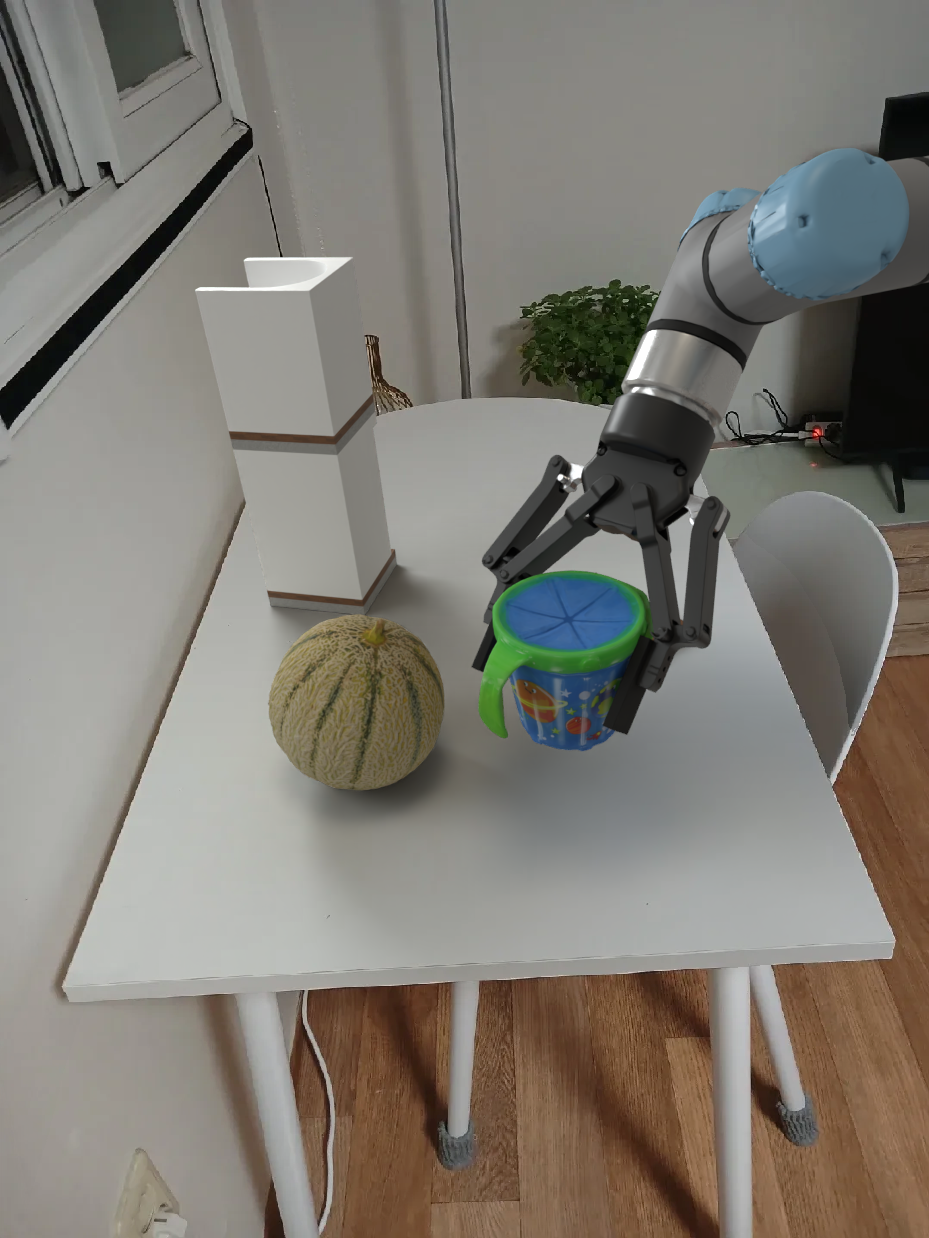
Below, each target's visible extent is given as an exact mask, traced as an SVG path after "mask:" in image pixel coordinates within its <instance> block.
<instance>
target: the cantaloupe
mask: <svg viewBox="0 0 929 1238" xmlns="http://www.w3.org/2000/svg"><path fill="white" fill-rule="evenodd" d="M444 687H445V686H444V681H443V679H442V676H441V672H440V669H439V667H438V664H437V662H436V660H435V659H434V657H433V656H432V654H431V652H430V650H429V649H428V648H427V646H426V645H425V643H423V641H422V640H421V639H420V638H419V636H417V635H415V634H414V633H412V632H411V631H409V630H407V629H406V628H405V627H404V626H402V624H401V625H400V624H399V623H398V622H395V621H393V620H390V619H387V618H383V617H377V616H369V615H366V614H365V615H361V614H346V615H341V616H337V617H334V618H329V619H326V620H324V621H323V620H322V621H321V622H318V623H317V624H315V625H314V626H312V627H311V628H309V629H308V630H307V631H305V632H304V633H303V634H301V635H300V636H299V637H298V638H297V639H296V640H295V641H294V642H293V643H292V644H291V645H290V647H289V648H288V650H287V651H286V652H285V654H284V656H283V657H282V659H281V661H280V665H279V667H278V669H277V671H276V673H275V675H274V677H273V680H272V682H271V685H270V689H269V694H268V703H267V704H268V719H269V721H270V722H269V723H270V726H271V729H272V731H271V732H272V735H273V737H274V738H275V741H276V744H277V745H278V747H279V748H280V750H281V751H282V752H284V754H285V755H286V756H287V758H288V760H289V761H290V763H291V764H292V765H293V767H295V768H296V769H297V770H298V771H300V772H301V773H302V774H303V775H305V776H306V777H308V779H309V778H310V779H312V780H314V781H317V782H320V783H321V784H324V785H325V786H327V787H331V788H334V789H337V790H352V791H369V790H375V789H381V788H384V787H387V786H390V785H392V784H396V783H397V782H398V781H400V780H403V779H404V778H405V777H407V776H408V775H410V773H412V772H414V771H415V770H416V769H417V768H418V767H419V766H420V765H422V763H423V762H424V761H425V760H426V759H427V757H428V756H429V755H430V753H431V752H432V750H433V749H434V748H435V745H436V742H437V740H438V737H439V734H440V732H441V726H442V722H443V718H444V715H445V714H444V713H445V707H446V705H445V704H446V702H445V701H446V699H445V688H444Z"/></svg>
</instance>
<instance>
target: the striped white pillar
mask: <svg viewBox="0 0 929 1238" xmlns="http://www.w3.org/2000/svg"><path fill="white" fill-rule="evenodd" d="M243 265H244V271H245V274H246V275H245V276H246V280H247V283H248V287H216V286H215V287H207V286H206V287H203V286H202V287H198V288H196V289H195V290H194V292H195V296H196V301H197V305H198V310H199V314H200V317H201V321H202V327H203V331H204V335H205V339H206V342H207V347H208V351H209V355H210V359H211V364H212V367H213V372H214V376H215V380H216V384H217V389H218V393H219V397H220V402H221V406H222V410H223V414H224V418H225V421H226V422H225V423H226V426H227V430H228V434H229V439H230V443H231V448H232V451H233V456H234V459H235V463H236V467H237V472H238V476H239V480H240V485H241V489H242V493H243V497H244V501H245V505H246V509H247V514H248V518H249V522H250V527H251V531H252V534H253V538H254V543H255V546H256V551H257V555H258V560H259V563H260V567H261V572H262V577H263V580H264V584H265V588H266V592H267V597H268V601H269V605H270V607H279V608H290V609H299V610H310V611H319V612H329V613H336V614H337V613H338V614H346V615H356V614H361V615H365V616H366V615H367V613H368V611H369V610H370V608H371V606H372V605H373V603H374V602H375V600H376V598H377V597H378V595H379V594H380V592H381V590H382V589H383V587H384V585H385V584H386V582H387V581H388V579H389V577H390V576H391V574H393V571H394V570H395V568H396V567H397V566H398V560H397V553H396V549H395V548H391V541H390V534H389V526H388V521H387V514H386V506H385V499H384V493H383V486H382V479H381V471H380V465H379V458H378V452H377V444H376V438H375V431H374V428H375V426H376V425H377V424H378V422H377V414H376V407H375V400H374V394H373V393H374V392H373V385H372V378H371V372H370V365H369V358H368V350H367V344H366V335H365V329H364V323H363V316H362V309H361V301H360V295H359V287H358V281H357V274H356V267H355V266H356V265H355V260H354V257H353V256H331V257H328V256H327V257H325V256H324V257H322V256H321V257H320V256H319V257H316V256H314V257H246V258H245V259H243Z"/></svg>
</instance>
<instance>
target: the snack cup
mask: <svg viewBox="0 0 929 1238" xmlns="http://www.w3.org/2000/svg"><path fill="white" fill-rule="evenodd" d="M492 613H493V628H494V634H495V637H496V640H497V643H496V645H495V646H494V648H493V650H492V652H491V654H490V656H489V659H488V661H487V663H486V666H485V669H484V672H482V676H481V677H482V678H481V681H480V689H479V696H478V703H477V704H478V705H477V707H478V708H477V709H478V710H477V711H478V715H479V717H480V720H481V721H482V723H483V724H484V725H485V727H487V729H488V730H490V732H491V733H493V734H495V735H496V736H497V737H499V738H502V739H508V737H509V733H508V730H507V729H508V728H507V727H506V721H505V720H506V719H505V708H504V707H505V706H504V696H503V695H504V693H503V689H504V687H505V686H506V683H507V682H508V681H509V682H510V686H511V687H510V688H511V690H512V696H513V699H514V703H515V707H516V710H517V713H518V716H519V720H520V723H521V725H522V728H523V729H524V730H525V732H527V734H528V735H529V736H530V738H531V740H532V741H533V742H534V743H536V744H539V745H544V746H547V747H550V748H554V749H556V750H563V751H580V752H587V751H589V750H591V749H593V747H595V746H597V745H601V744H603V743H605V742H607V741H608V740H609V739H610V738H611V737H612V736H613V735H614V734H615V732H616V731H614V730H611V729H609V728H607V727H605V726H602V725H603V723H604V721H605V718H606V716H607V713H608V711H609V709H610V706H611V704H612V701H613V699H614V697H615V694H616V692H617V690H618V687H619V685H620V682H621V680H622V678H623V675H624V673H625V670H626V668H627V666H628V663H629V661H630V659H631V656H632V654H633V651H634V649H635V647H636V645H637V642H638V639H639V637H640V635H642V636H645V637H648V638H650V639H653V637H652V635H651V633H650V632H651V631H652V632H653V625H652V618H651V611H650V604H649V597H648V594H647V593H645V592H644V590H641V589H640V588H638V587H635V586H634V585H632V584H629V583H628V582H625V581H622V580H620V579H617V578H615V577H612V576H609V575H606V574H602V573H599V572H594V571H586V570H575V569H574V570H573V569H571V570H569V569H568V570H556V571H555V570H554V571H550V572H544V573H543V574H539V575H535V576H532V577H529V578H526V579H524V580H522V581H520V582H518V583H516V584H514V585H512V586H511V587H509V588H508V589H507V590H506V591H505V592H504V593H503V594H502V595H501V596H500V597H499V599H498V600H497V602H496V603H495V604H494V606H493V610H492ZM653 633H654V632H653Z"/></svg>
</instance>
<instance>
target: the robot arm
mask: <svg viewBox="0 0 929 1238" xmlns="http://www.w3.org/2000/svg"><path fill="white" fill-rule="evenodd" d="M928 283H929V155H926V156H912V157H907V158H906V157H905V158H901V159H894V160H887V161H886V160H885V159H883V158H881V157H879V156H875V155H872V154H870V153H869V152H866V151H863V150H862V149H859V148H857V147H842V148H841V147H840V148H835V149H832V150H828V151H825V152H822V153H821V154H819V155H817V156H815V157H813V158H812V159H810V160H807V161H803V162H801V163H800V164H798V165H795V166H793V167H791V168H790V169H789V170H788V171H787V172H786V173H784V174H781V175H779V177H777V178H776V179H775V181H774V182H773V183H771V184H769V185H768V187H766V188H765V189H764V190H763V191H760V190H756V189H753V188H747V187H733V188H732V189H731V190H730V191H729V190H725V189H719V190H716V191H714V192H712V193H710V194H709V195H707V196H706V197H705V198H704V199H703V200H702V201H701V202H700V204H699V206H698V207H697V209H696V212H695V214H694V216H693V217H692V220H691V221H690V223H689V225H688V227H687V228H686V229H685V230H684V232H683V233H682V235H681V237H680V240H679V244H678V247H677V252H676V255H675V257H674V259H673V262H672V265H671V267H670V269H669V272H668V274H667V277H666V279H665V281H664V284H663V286H662V288H661V292H660V293H659V296H658V299H657V301H656V302H655V306H654V308H653V311H652V312H651V315H650V318H649V320H648V322H647V324H646V327H645V330H644V333H643V335H642V336H641V338H640V341H639V343H638V346H637V348H636V350H635V353H634V354H633V357H632V360H631V362H630V364H629V367H628V369H627V370H626V372H625V376H624V378H623V380H622V383H621V385H620V386H621V390H622V393H623V394H621V395H620V396H617V397H616V398H615V400H614V401H613V405H612V407H611V409H610V412H609V414H608V416H607V419H606V421H605V423H604V426H603V428H602V430H601V433H600V435H599V439H598V446H597V449H596V453H595V454H594V455H593V457H592V458H591V459H590V460H588V462H587V463H586V464H585V465H584V464H579V463H575V462H571V461H568V460H567V459H566V458H564V457H563V456H562V455H561V454H555V455H553V456H551V457H550V458H549V460H548V462H547V465H546V467H545V470H544V473H543V475H542V478H541V480H540V482H539V483H538V485H537V486H536V487H535V489H534V490H533V491H532V493H531V494H530V495H529V496H528V497H527V499H526V500H525V501H524V503H523V504H522V505H521V507H520V508H519V509H518V511H517V512H516V513H515V515H514V516H513V517H512V518H511V520H510V521H509V522H508V523H507V525H506V526H505V527H504V528H503V530H502V531H501V532H500V534H499V535H498V536H497V538H496V539H495V540H494V541H493V543H492V544H491V545H490V547H489V548H488V549H487V550H486V552H484V554H483V556H482V559H481V564H482V566H483V567H485V568H486V569H488V570H489V571H490V572H491V573H492V575H494V576H495V578H496V586H495V588H494V591H493V592H492V595H491V597H490V600H489V602H488V604H487V607H486V609H485V611H484V613H483V621H482V622H483V623H484V624H486V625H487V628H486V632H485V633H484V636H483V638H482V641H481V643H480V645H479V648H478V650H477V652H476V655H475V657H474V659H473V662H472V664H471V667H470V668H472V669H474V670H477V671H478V672H481V673H484V669H485V666H486V663H487V661H488V659H489V656H490V654H491V652H492V650H493V648H494V646H495V645H496V643H497V640H496V637H495V634H494V628H493V613H492V610H493V606H494V604H495V603H496V602H497V600H498V599H499V597H500V596H501V595H502V594H503V593H504V592H505V591H506V590H507V589H508V588H509V587H511V586H512V585H514V584H516V583H518V582H520V581H522V580H524V579H526V578H529V577H532V576H535V575H539V574H543V573H546V571H548V570H549V569H550V568H552V566H553V565H555V564H556V563H557V562H558V561H560V560H561V559H562V558H563V557H565V556H566V555H567V554H568V553H569V552H570V551H572V550H573V549H574V548H575V547H576V546H578V545H579V544H580V543H581V542H582V541H583V540H585V539H586V538H588V537H593V536H594V535H596V534H598V532H600V531H603V532H604V533H609V534H611V535H624V536H625V537H627V538H628V539H630V540H631V541H634V542H637V543H638V544H639V546H640V549H641V554H642V561H643V568H644V576H645V581H646V589H647V597H648V600H649V604H650V611H651V618H652V625H653V632H654V633H653V632H652V631H651V632H650V633H651V635H652V637H653V638H654V640H652V639H650V638H648V637H645V636H642V635H640V637H639V639H638V642H637V645H636V647H635V649H634V651H633V654H632V656H631V659H630V661H629V663H628V666H627V668H626V670H625V673H624V675H623V678H622V680H621V682H620V685H619V687H618V690H617V692H616V694H615V697H614V699H613V701H612V704H611V706H610V709H609V711H608V713H607V716H606V718H605V721H604V723H603V725H602V726H605V727H607V728H609V729H611V730H614V731H615V732H617V733H620V734H623V735H625V736H628V735H629V732H630V729H631V727H632V725H633V723H634V721H635V719H636V716H637V713H638V711H639V708H640V706H641V704H642V702H643V699H644V696H645V693H646V692H647V691H650V692H653V693H655V694H656V693H657V692H658V691H660V689H661V688H662V686H663V684H664V682H665V679H666V678H667V677H666V676H667V674H668V672H669V670H670V667H671V665H672V662H673V660H674V658H675V655H676V653H677V652H678V651H679V650H681V649H683V648H698V649H700V650H703V649H706V648H708V647H709V646H710V645H711V642H712V636H713V635H712V634H713V626H714V625H713V623H714V612H715V602H716V601H715V600H716V599H715V598H716V588H717V576H718V566H719V565H718V564H719V551H720V541H721V539H722V537H723V535H724V532H725V530H726V528H727V526H728V524H729V522H730V519H731V511H730V510H729V508H728V507H727V506H726V505H725V504H724V503H723V502H722V500H720V499H719V498H718V496H715V495H711V496H707V497H702V496H699V495H695V494H694V492H695V491H694V489H695V488H694V487H695V484H696V482H697V481H698V478H699V477H700V476H701V473H702V471H703V468H704V466H705V463H706V461H707V459H708V457H709V455H710V452H711V450H712V447H713V444H714V442H715V440H716V433H715V429H714V428H716V427H719V426H720V425H721V424H722V422H723V420H724V418H725V415H726V413H727V410H728V408H729V405H730V403H731V401H732V399H733V396H734V394H735V391H736V388H737V386H738V383H739V381H740V379H741V376H742V374H743V373H744V371H745V368H746V366H747V365H746V364H747V362H748V360H749V359H750V356H751V353H752V351H753V349H754V347H755V344H756V342H757V340H758V337H759V335H760V333H761V330H762V329H763V327H764V326H766V325H768V324H769V325H770V324H772V323H775V322H777V321H779V320H781V319H782V320H783V318H786V317H787V316H790V315H793V314H795V313H797V312H800V311H802V310H804V309H808V308H811V307H814V306H817V305H821V304H826V303H831V302H836V301H842V300H847V299H852V298H857V297H863V296H867V295H872V294H879V293H883V292H888V291H892V290H897V289H898V290H899V289H904V288H909V287H917V286H919V285H922V284H928ZM580 484H581V485H582V490H583V494H582V495H580V496H579V497H578V498H577V499H576V500H575V501H574V502H572V503H571V504H570V505H569V506H567V508H566V509H565V511H564V514H563V516H561V517H560V518H559V519H558V520H556V521H555V522H554V523H553V524H552V525H551V526H549V527H548V528H547V529H546V530H544V529H545V528H546V527H547V525H549V523H550V522H551V520H552V519H553V518H554V517H555V515H557V513H558V512H559V510H560V509H561V508H562V506H563V505H564V504H565V502H566V500H567V499H568V498H569V495H570V493H574V492H576V491H577V490H578V487H579V485H580ZM686 514H689V518H688V522H689V524H690V526H691V533H690V539H689V550H688V560H687V561H688V562H687V571H686V572H687V574H686V581H685V582H686V584H685V595H684V606H683V615H682V616H683V617H682V620H683V625H681V621H680V619H681V615H680V608H679V602H678V596H677V595H678V594H677V589H676V583H675V582H676V581H675V576H674V570H673V569H674V568H673V563H672V557H671V553H672V550H673V549H672V542H671V535H670V530H669V529H670V528H669V526H671V525H672V524H673V523H675V522H676V521H678V520H679V519H681V518H683V516H685V515H686ZM542 532H543V533H542ZM541 533H542V534H541Z"/></svg>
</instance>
